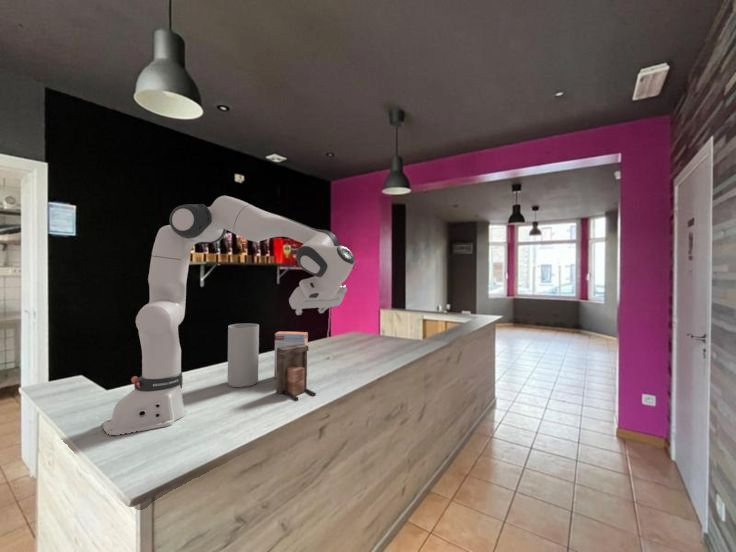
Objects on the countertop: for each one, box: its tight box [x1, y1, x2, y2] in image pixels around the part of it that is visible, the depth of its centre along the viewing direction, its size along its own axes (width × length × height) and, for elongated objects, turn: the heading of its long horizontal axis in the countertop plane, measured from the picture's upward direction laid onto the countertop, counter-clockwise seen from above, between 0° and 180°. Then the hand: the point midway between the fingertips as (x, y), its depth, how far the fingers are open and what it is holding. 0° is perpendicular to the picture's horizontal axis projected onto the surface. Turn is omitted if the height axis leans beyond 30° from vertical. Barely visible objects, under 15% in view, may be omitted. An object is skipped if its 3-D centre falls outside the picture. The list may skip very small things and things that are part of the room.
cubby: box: [275, 344, 317, 401], centre depth 138 cm, size 12×13×18 cm
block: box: [287, 366, 305, 396], centre depth 139 cm, size 5×5×10 cm
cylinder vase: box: [227, 323, 260, 388], centre depth 149 cm, size 12×12×25 cm
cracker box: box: [274, 330, 309, 380], centre depth 158 cm, size 14×6×21 cm, turn 84°
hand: (309, 312), depth 124 cm, fingers open, 8 cm apart
